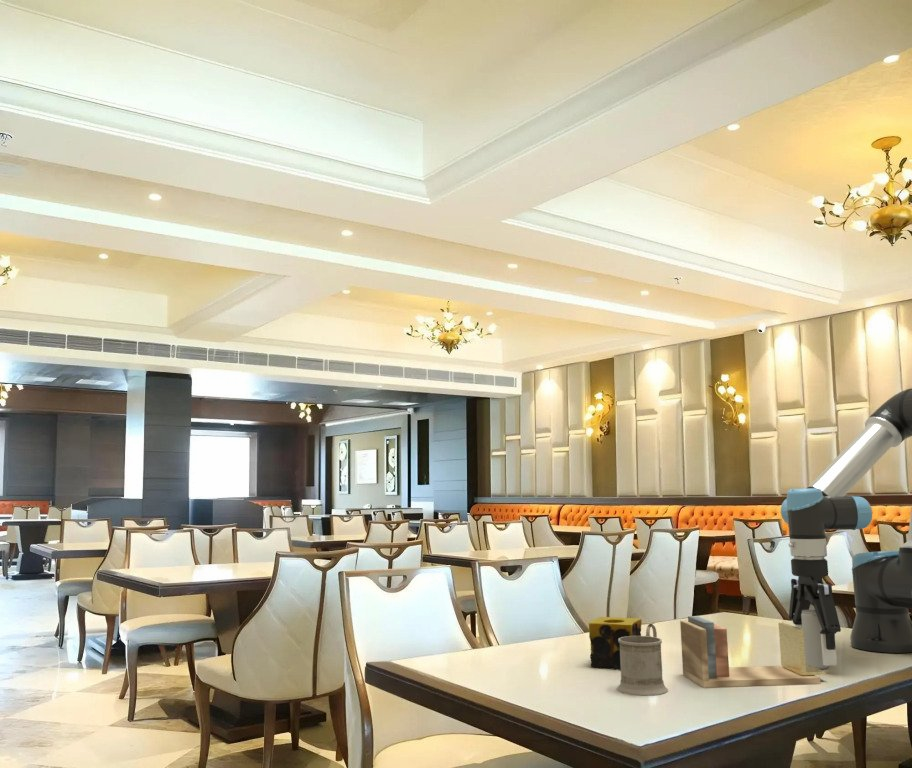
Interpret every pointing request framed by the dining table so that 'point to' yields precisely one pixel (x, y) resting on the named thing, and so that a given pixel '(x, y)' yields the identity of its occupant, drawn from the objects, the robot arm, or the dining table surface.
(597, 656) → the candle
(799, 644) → the bookend
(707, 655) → the shelf
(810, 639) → the beverage can
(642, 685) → the mug
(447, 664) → the dining table surface
